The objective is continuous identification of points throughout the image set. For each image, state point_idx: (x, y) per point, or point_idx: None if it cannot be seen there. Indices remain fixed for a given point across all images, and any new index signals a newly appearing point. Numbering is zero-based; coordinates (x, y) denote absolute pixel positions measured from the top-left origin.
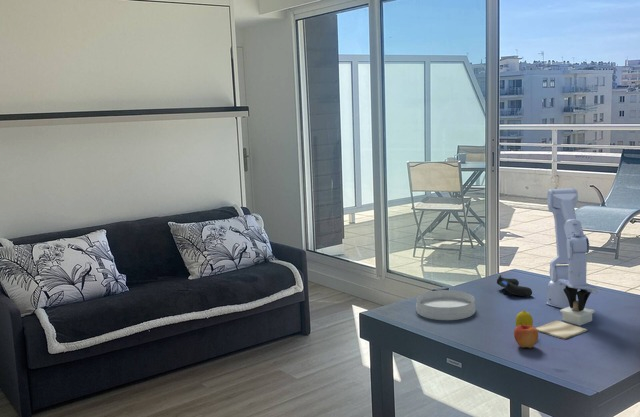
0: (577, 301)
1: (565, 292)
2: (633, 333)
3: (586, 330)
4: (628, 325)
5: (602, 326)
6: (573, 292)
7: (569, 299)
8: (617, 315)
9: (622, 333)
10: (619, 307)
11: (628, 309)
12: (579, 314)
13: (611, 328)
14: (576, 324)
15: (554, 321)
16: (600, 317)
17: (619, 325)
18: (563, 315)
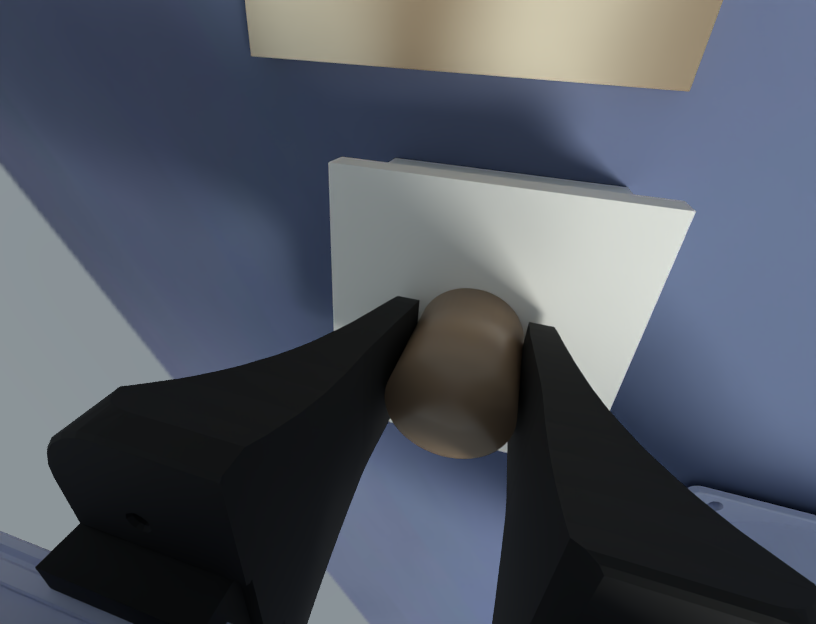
0: (451, 423)
1: (706, 529)
2: (78, 255)
3: (257, 44)
4: (194, 372)
5: (265, 266)
6: (514, 584)
7: (564, 396)
8: None
9: (100, 211)
10: (404, 594)
11: (356, 579)
12: (356, 192)
13: (204, 263)
14: (433, 163)
15: (699, 13)
16: (388, 429)
17: (219, 347)
18: None
